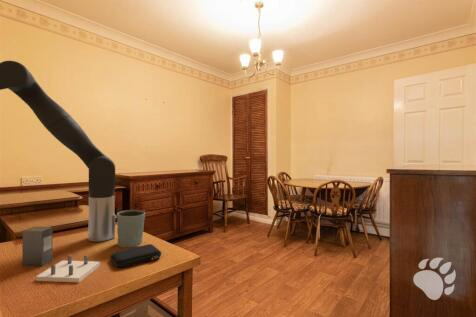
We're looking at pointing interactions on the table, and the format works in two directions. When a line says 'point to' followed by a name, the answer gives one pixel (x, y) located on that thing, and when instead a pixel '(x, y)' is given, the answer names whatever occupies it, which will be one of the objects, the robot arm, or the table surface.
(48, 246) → the block
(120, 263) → the carrying case or bag
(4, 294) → the table surface
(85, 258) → the white peg board
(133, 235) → the green cup
